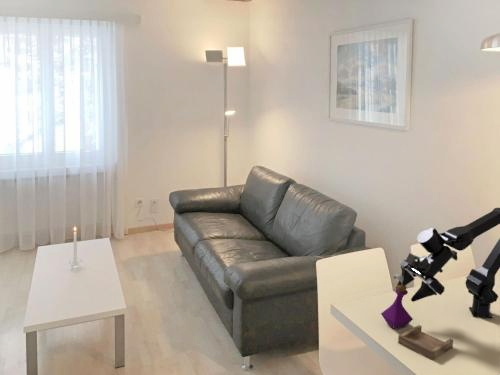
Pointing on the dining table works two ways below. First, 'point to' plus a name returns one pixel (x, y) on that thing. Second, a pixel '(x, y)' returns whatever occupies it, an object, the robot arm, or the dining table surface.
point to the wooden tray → (424, 343)
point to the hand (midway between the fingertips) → (404, 294)
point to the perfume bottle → (397, 308)
